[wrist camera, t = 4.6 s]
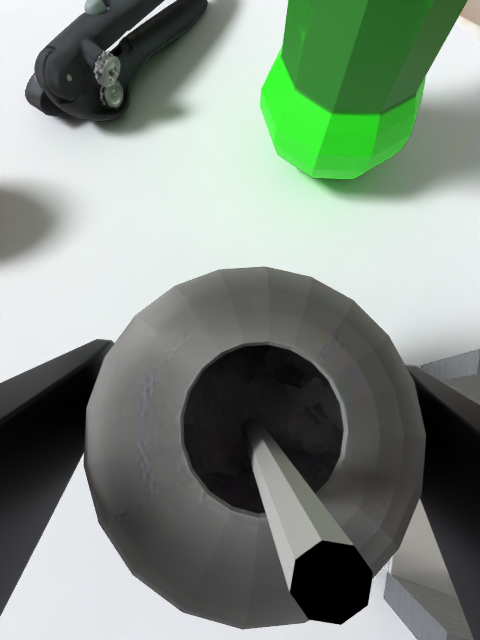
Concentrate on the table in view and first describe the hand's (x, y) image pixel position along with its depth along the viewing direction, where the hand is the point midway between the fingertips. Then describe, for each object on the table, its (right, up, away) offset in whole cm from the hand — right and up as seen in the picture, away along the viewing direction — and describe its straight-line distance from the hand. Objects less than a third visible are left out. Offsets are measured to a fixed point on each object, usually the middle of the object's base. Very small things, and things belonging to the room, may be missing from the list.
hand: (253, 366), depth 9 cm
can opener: (-8, +22, +18) cm, 30 cm away
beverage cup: (0, -5, +10) cm, 11 cm away
